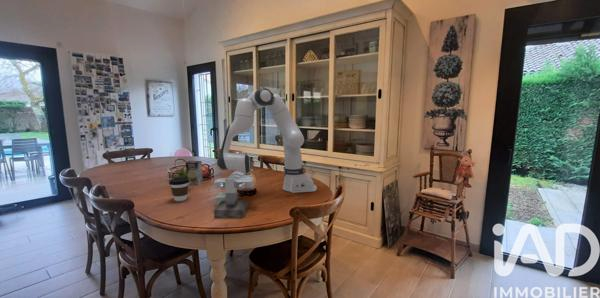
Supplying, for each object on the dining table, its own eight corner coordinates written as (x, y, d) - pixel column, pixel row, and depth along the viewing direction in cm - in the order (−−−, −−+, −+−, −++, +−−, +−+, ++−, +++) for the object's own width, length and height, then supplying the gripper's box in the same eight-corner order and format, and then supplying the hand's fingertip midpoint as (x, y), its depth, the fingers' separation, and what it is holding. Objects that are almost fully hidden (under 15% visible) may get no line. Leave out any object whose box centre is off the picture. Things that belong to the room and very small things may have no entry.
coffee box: (186, 185, 194) (184, 162, 192) (190, 182, 201) (189, 160, 198) (199, 185, 193) (197, 162, 191) (203, 182, 200) (201, 160, 197)
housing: (237, 203, 145) (236, 177, 143) (235, 206, 140) (234, 179, 138) (228, 203, 145) (227, 177, 143) (226, 206, 140) (224, 179, 138)
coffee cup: (184, 195, 171) (183, 176, 169) (194, 199, 164) (192, 179, 162) (167, 200, 163) (165, 180, 161) (176, 204, 156) (174, 183, 154)
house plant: (169, 189, 183) (167, 165, 181) (191, 186, 191) (189, 163, 188) (173, 195, 172) (171, 169, 169) (196, 191, 179) (195, 166, 177)
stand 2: (248, 207, 150) (247, 200, 149) (243, 217, 136) (242, 209, 136) (222, 207, 150) (221, 200, 149) (214, 217, 136) (214, 210, 135)
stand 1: (237, 198, 165) (237, 192, 164) (233, 204, 155) (233, 197, 154) (220, 198, 165) (220, 192, 164) (215, 204, 155) (215, 197, 154)
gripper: (217, 174, 154) (209, 181, 140) (254, 174, 154) (250, 181, 140) (218, 185, 155) (210, 193, 141) (255, 185, 155) (251, 193, 141)
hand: (230, 187), depth 141 cm, fingers open, 8 cm apart
